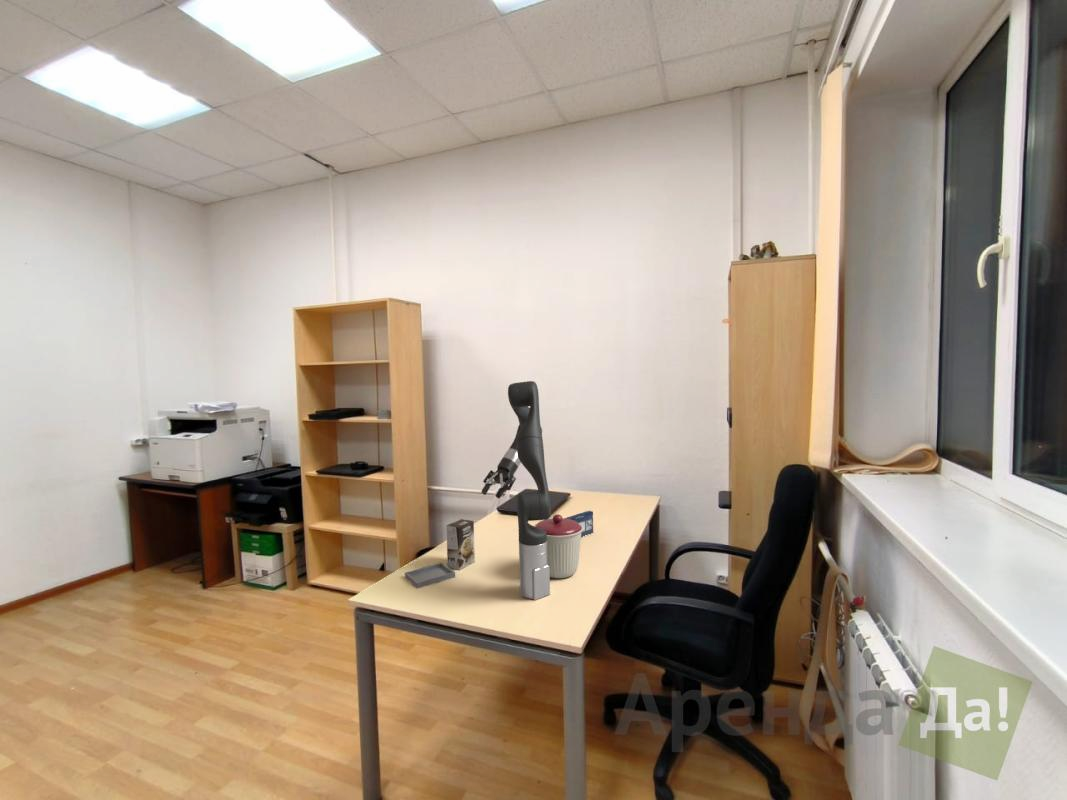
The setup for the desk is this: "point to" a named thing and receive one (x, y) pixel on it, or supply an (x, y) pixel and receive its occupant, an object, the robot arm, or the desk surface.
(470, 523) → the coffee box
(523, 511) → the robot arm
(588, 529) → the vhs cassette tape
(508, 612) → the desk surface
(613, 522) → the desk surface
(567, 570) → the canister
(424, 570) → the tray
